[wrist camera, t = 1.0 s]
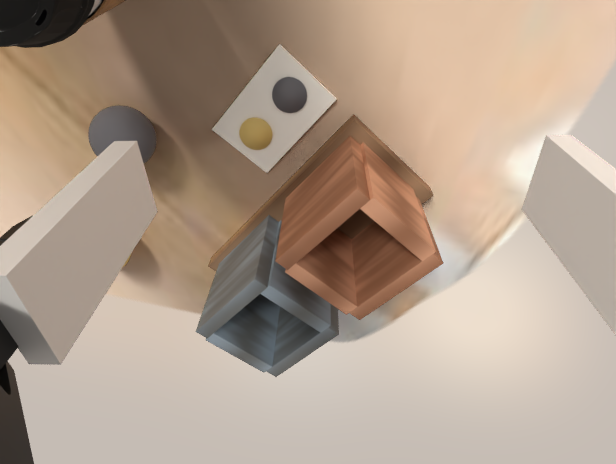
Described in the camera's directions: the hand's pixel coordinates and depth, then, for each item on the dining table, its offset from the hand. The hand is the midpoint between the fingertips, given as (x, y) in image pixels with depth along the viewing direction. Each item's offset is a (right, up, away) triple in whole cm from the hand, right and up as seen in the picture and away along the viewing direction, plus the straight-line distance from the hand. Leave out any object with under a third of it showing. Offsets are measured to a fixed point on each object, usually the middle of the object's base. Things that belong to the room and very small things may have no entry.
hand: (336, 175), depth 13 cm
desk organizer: (-1, -1, +26) cm, 26 cm away
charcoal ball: (-16, +6, +19) cm, 25 cm away
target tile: (-4, +8, +20) cm, 22 cm away
